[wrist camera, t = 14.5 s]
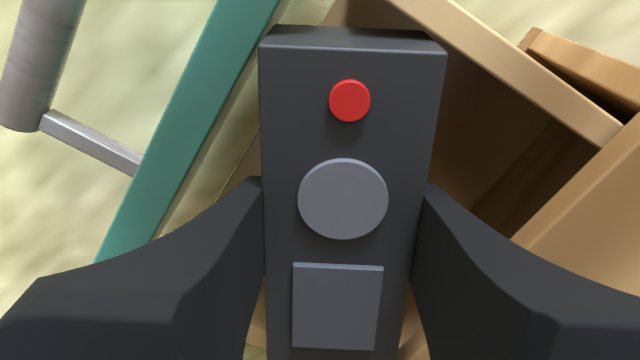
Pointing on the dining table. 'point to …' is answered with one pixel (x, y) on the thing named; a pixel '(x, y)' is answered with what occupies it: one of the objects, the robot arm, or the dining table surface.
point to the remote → (343, 183)
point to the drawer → (215, 104)
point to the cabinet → (586, 180)
